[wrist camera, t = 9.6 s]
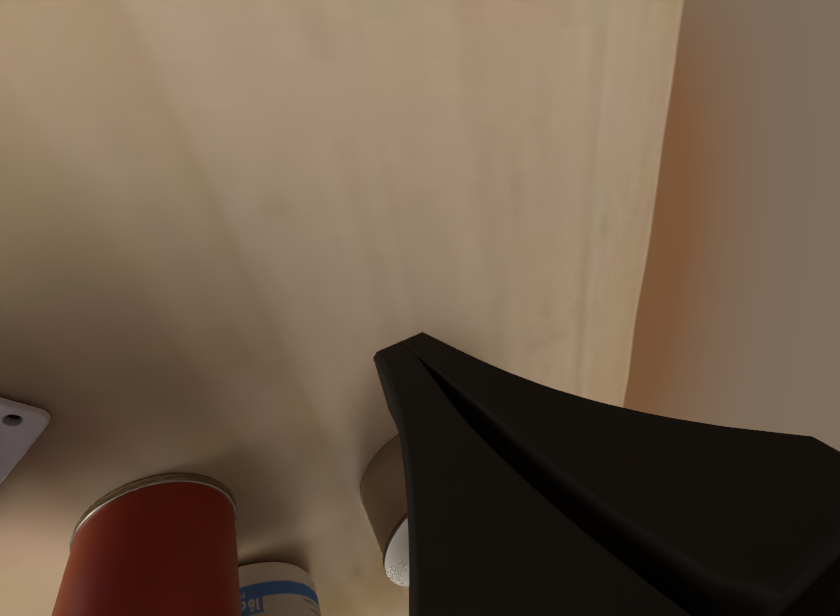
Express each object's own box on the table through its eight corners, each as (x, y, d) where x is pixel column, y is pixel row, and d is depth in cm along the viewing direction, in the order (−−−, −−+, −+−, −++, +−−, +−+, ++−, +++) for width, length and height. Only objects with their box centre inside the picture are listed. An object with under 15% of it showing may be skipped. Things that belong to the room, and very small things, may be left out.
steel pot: (327, 503, 24) (353, 590, 20) (429, 393, 24) (477, 457, 20) (416, 530, 30) (452, 601, 26) (499, 441, 30) (549, 498, 25)
